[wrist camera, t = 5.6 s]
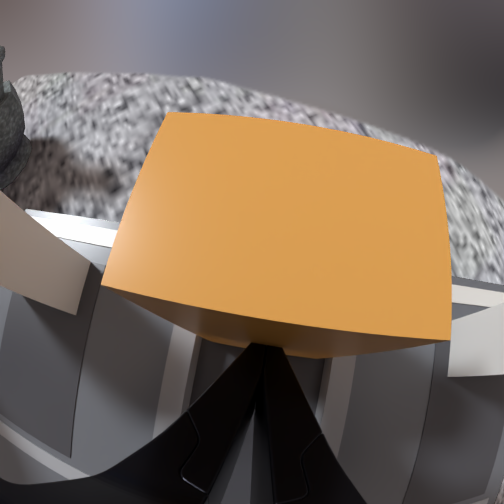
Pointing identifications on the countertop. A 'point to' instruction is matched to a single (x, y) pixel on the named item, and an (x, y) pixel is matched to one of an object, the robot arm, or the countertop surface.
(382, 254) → the orange tall block
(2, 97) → the mortar and pestle
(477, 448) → the slotted gray tray
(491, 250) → the countertop surface
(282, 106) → the countertop surface
